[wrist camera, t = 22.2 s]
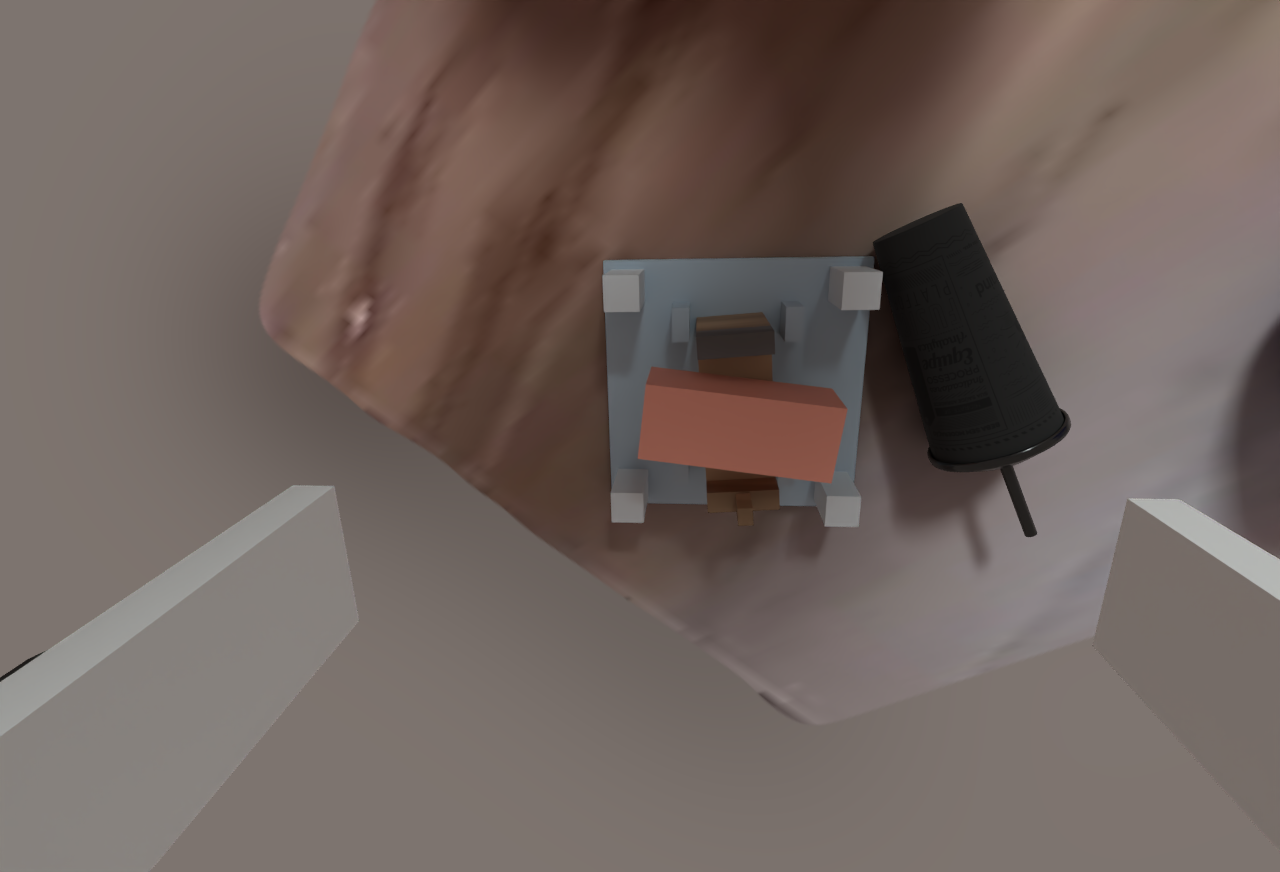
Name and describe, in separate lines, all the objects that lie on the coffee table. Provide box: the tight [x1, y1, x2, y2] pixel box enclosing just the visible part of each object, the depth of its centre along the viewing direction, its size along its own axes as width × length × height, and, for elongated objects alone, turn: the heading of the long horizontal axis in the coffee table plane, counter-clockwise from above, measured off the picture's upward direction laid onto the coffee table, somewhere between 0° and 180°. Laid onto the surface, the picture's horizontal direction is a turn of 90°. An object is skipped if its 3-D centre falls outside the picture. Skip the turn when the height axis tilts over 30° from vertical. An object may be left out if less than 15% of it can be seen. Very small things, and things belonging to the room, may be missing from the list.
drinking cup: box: [873, 203, 1071, 537], centre depth 38 cm, size 8×8×20 cm
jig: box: [602, 256, 883, 527], centre depth 40 cm, size 16×16×5 cm
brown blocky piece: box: [696, 312, 780, 526], centre depth 38 cm, size 10×4×9 cm, turn 5°
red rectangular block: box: [638, 367, 848, 483], centre depth 35 cm, size 10×4×4 cm, turn 84°
